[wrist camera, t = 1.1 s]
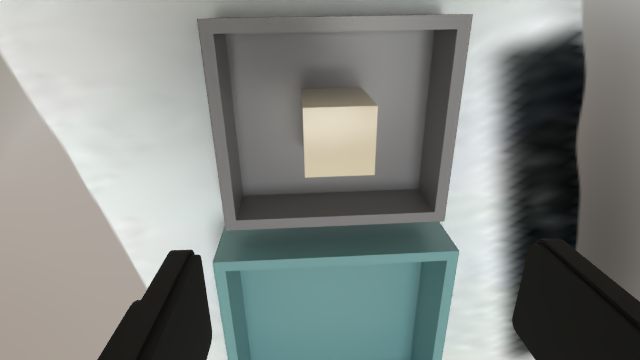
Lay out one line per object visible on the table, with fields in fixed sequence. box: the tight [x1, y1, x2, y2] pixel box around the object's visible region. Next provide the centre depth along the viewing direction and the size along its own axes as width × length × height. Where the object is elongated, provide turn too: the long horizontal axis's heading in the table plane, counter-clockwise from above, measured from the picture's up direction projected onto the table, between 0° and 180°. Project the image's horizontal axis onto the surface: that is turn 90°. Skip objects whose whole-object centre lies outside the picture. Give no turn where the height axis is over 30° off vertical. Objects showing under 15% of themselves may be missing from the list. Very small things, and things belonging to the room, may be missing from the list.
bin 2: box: [213, 221, 459, 360], centre depth 34 cm, size 18×18×6 cm
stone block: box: [301, 88, 378, 178], centre depth 25 cm, size 4×4×6 cm
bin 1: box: [197, 14, 473, 231], centre depth 27 cm, size 14×16×5 cm
